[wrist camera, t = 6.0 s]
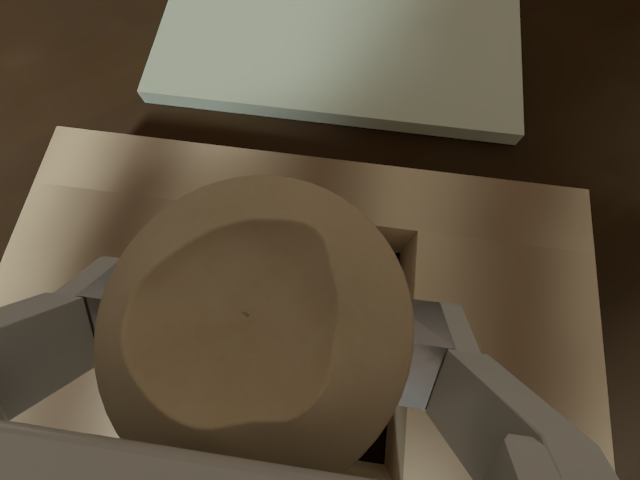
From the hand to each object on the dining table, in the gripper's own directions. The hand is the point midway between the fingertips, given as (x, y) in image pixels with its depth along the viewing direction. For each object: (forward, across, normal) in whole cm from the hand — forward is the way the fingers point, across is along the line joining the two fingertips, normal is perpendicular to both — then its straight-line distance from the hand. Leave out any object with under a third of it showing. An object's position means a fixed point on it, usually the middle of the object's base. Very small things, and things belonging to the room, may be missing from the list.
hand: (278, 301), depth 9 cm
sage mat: (+15, 0, -7) cm, 16 cm away
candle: (+4, 0, +5) cm, 6 cm away
